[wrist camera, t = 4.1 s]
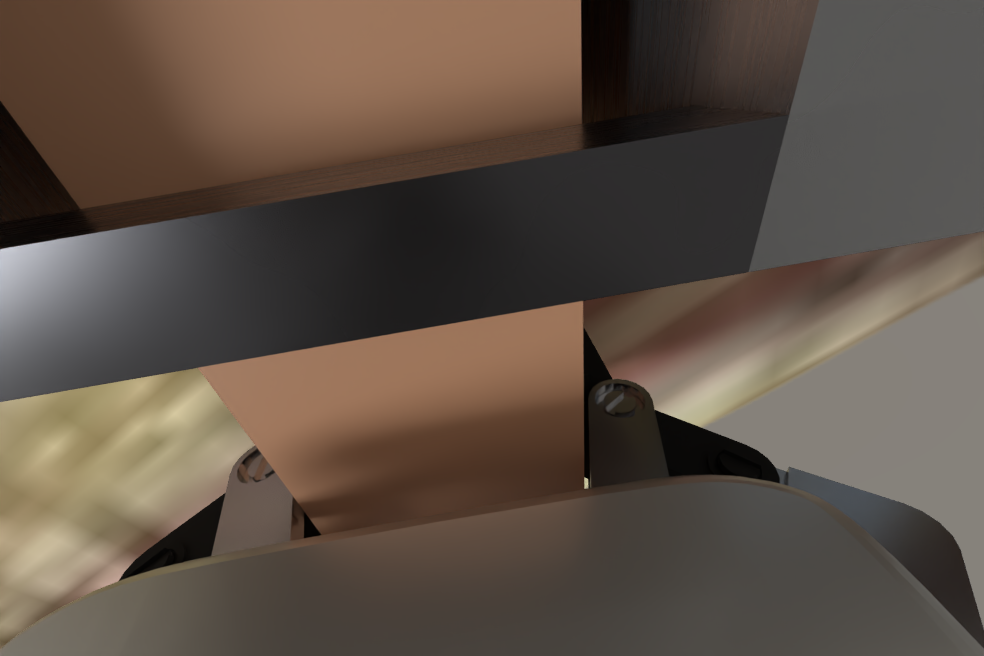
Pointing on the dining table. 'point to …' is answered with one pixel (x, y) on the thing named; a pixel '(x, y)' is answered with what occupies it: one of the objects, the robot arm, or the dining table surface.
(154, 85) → the tan rectangular block
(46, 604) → the dining table surface
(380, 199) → the dispenser
